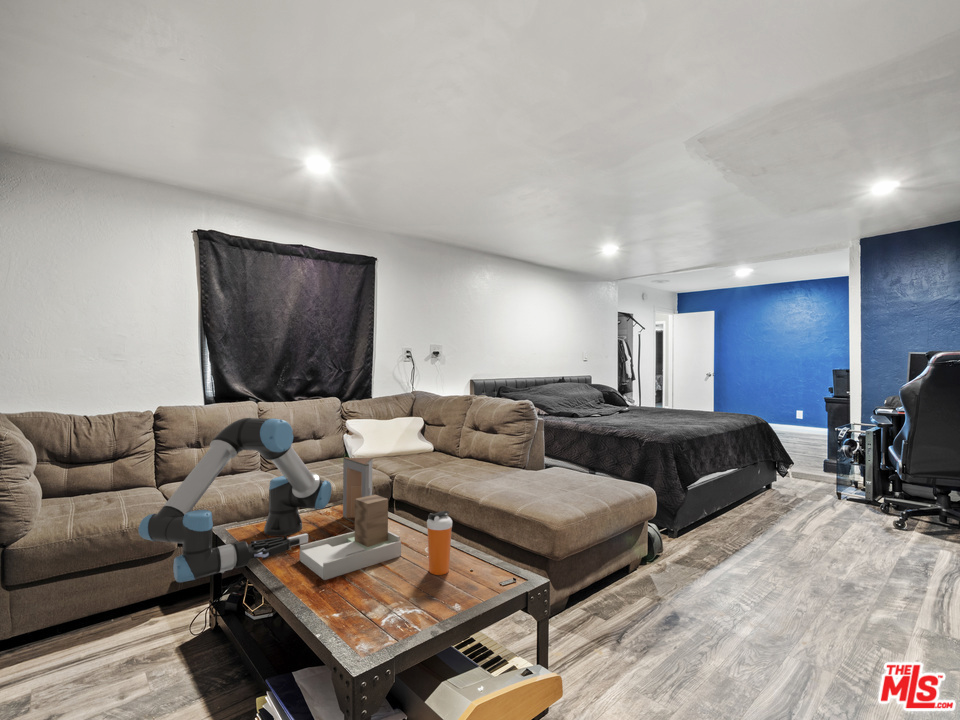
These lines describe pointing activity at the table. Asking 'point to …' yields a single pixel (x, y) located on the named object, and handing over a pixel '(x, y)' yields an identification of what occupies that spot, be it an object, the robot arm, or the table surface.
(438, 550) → the shaker bottle
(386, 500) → the walnut block
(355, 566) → the box
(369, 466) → the cabinet
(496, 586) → the table surface
